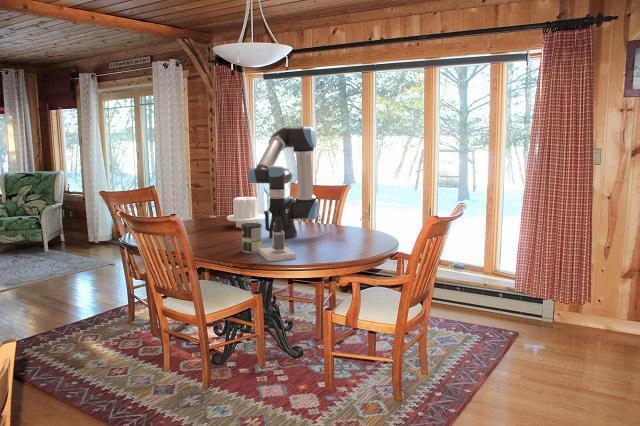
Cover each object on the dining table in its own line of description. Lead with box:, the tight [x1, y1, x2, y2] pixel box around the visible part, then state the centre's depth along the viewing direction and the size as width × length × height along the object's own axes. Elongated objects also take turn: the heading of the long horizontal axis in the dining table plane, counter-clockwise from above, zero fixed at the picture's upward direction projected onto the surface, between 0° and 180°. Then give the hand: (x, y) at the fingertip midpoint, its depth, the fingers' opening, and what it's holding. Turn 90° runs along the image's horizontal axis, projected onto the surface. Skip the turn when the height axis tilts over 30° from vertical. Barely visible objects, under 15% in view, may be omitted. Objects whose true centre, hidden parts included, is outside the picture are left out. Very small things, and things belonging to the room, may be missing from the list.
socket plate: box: [258, 245, 297, 262], centre depth 262 cm, size 18×14×3 cm
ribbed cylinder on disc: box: [226, 196, 265, 229], centre depth 341 cm, size 25×25×19 cm
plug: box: [272, 232, 285, 250], centre depth 259 cm, size 4×4×8 cm
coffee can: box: [241, 222, 263, 254], centre depth 273 cm, size 10×10×14 cm
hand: (277, 244), depth 260 cm, fingers closed on plug, 4 cm apart
